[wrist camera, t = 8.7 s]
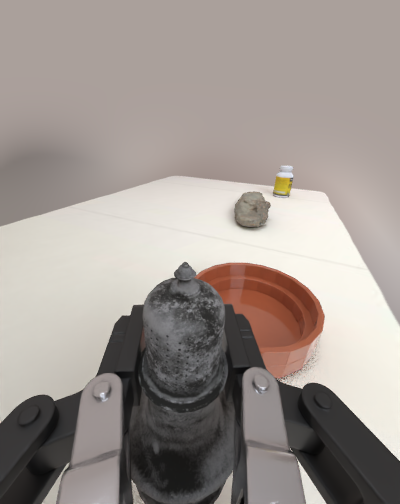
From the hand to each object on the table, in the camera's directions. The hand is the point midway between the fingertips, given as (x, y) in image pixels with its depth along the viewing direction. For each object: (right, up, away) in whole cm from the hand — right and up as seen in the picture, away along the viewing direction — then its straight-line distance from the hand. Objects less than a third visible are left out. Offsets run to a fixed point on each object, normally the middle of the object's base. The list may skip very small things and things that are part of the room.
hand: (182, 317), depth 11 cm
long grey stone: (+17, +16, +59) cm, 63 cm away
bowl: (+7, -5, +16) cm, 18 cm away
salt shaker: (0, -8, +1) cm, 8 cm away
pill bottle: (+35, +27, +80) cm, 91 cm away
